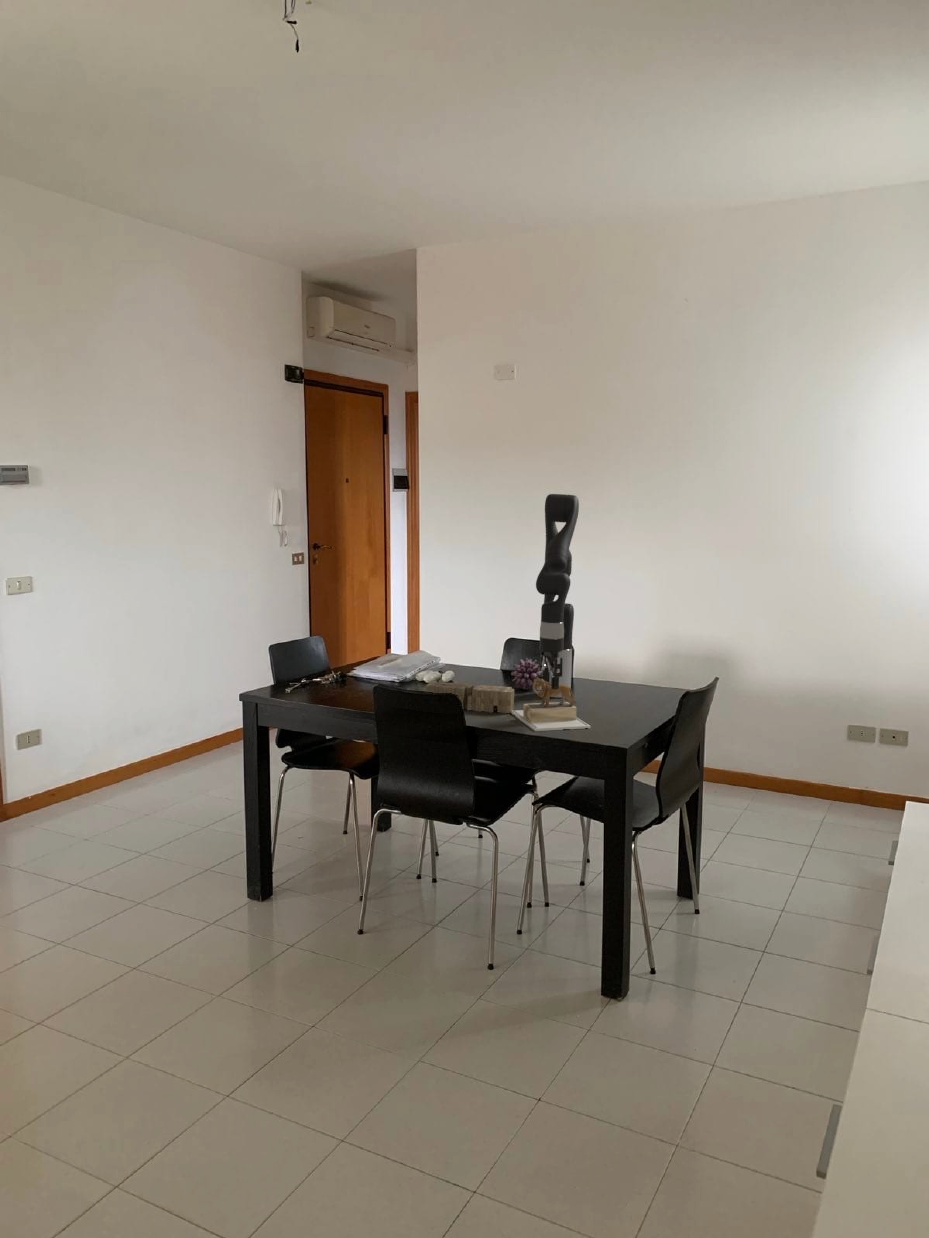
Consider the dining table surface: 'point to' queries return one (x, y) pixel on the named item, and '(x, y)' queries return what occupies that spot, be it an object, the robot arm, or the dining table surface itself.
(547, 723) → the mat
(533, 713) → the wooden box
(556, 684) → the robot arm
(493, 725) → the dining table surface
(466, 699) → the block tower
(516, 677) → the flower
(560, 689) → the lion figurine
